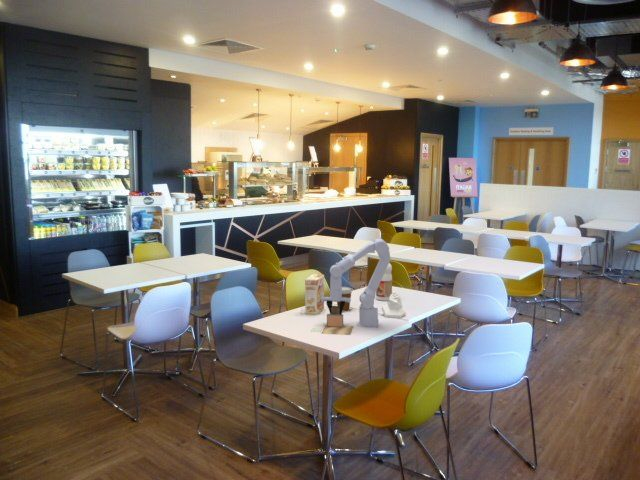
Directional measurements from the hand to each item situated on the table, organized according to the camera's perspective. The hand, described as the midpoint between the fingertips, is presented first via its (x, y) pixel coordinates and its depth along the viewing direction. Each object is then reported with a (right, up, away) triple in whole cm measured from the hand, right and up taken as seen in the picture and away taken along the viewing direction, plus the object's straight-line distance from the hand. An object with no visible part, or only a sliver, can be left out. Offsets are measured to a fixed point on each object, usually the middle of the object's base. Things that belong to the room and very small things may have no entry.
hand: (336, 315), depth 267 cm
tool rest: (-10, -6, -9) cm, 14 cm away
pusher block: (0, -2, 0) cm, 3 cm away
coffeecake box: (-11, -2, +26) cm, 28 cm away
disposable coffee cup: (+5, -1, +29) cm, 30 cm away
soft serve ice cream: (+32, -2, +19) cm, 37 cm away
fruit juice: (+30, +2, +51) cm, 59 cm away
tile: (-1, -5, -3) cm, 6 cm away
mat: (+1, -6, -8) cm, 10 cm away
